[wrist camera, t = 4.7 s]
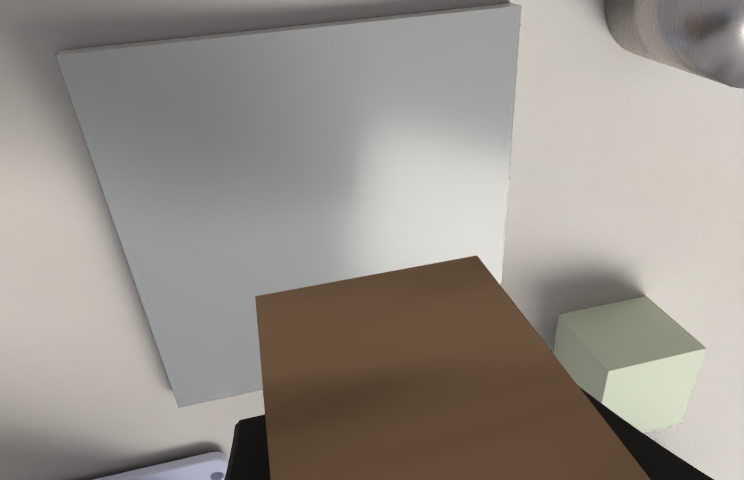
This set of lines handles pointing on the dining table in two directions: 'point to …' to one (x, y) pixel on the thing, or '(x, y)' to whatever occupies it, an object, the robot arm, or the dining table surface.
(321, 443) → the walnut block
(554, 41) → the dining table surface
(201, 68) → the slate tile
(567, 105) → the dining table surface
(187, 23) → the dining table surface
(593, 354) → the sage box
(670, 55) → the grey cylinder
